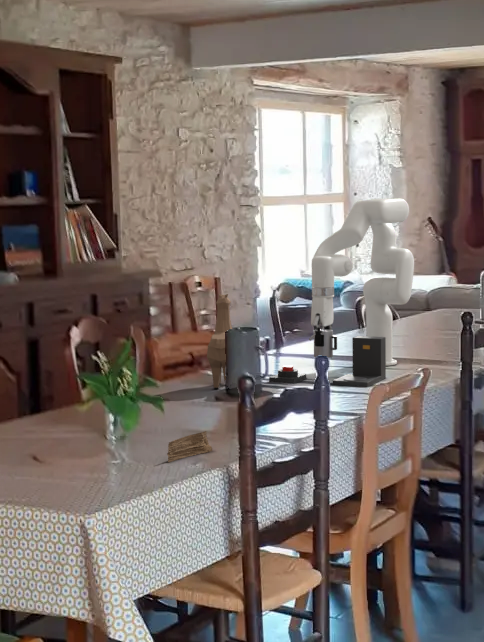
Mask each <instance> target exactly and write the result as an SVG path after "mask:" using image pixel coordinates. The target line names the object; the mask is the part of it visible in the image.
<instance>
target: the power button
mask: <svg viewBox="0 0 484 642" xmlns="http://www.w3.org/2000/svg"><path fill="white" fill-rule="evenodd" d="M281 369H282V371H293V369H294V365H282V367H281Z"/></svg>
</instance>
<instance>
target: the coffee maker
mask: <svg viewBox="0 0 484 642" xmlns="http://www.w3.org/2000/svg"><path fill="white" fill-rule="evenodd" d="M351 343H352V374H351V373H347V374H344V375H342V376H340V377H338V378H334V379H333V380H332V385H333V386H345V387H359V388H361V387H362V388H368V387H371V386H373V385H375V384H377V383H379V382H381V381H383V380H385V379H386V378H387V377H386V374H387V372H386V371H387V370H386V369H387V366H386V337H371V336H366V335H356V336H353V337H352V342H351Z"/></svg>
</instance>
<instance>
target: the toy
mask: <svg viewBox="0 0 484 642" xmlns="http://www.w3.org/2000/svg"><path fill="white" fill-rule="evenodd" d="M217 295H218V299H217V300H216V302H215V304H216V306H217V307H216V309H217V310H216V311H217V312H216V321H215V322H216V323H215V328H214V332H213V333H214V334H212V335H211V337H210V341H208V345H207V350H206V358H207V361H208V363H209V365H210V368H211V375H212V383H213V390H216V391H217V390H219V389H220V386H221V384H222V375H223V381H224V382H225V380H226V376H225V362H226V354H225V332H226V331H227V330H229V329H233V325H232V321H231V320H232V319H231V313H230V308H231V307H230V306H231V302H232V301H231V300H230V298H229V293H225V294H221V293H218V294H217Z"/></svg>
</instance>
